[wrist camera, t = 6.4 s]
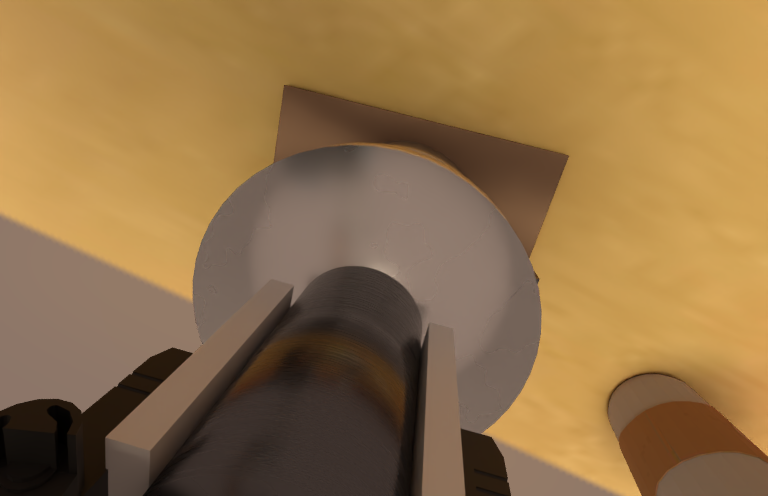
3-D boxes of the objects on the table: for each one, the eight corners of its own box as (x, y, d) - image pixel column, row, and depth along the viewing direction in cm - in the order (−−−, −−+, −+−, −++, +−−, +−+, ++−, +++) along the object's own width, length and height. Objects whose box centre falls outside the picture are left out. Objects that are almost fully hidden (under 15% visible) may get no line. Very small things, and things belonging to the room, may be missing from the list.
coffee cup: (721, 428, 31) (965, 696, 16) (612, 459, 33) (745, 718, 19) (688, 343, 29) (930, 561, 15) (575, 381, 31) (691, 603, 17)
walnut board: (288, 85, 27) (284, 84, 26) (565, 154, 26) (568, 155, 25) (261, 281, 32) (257, 285, 31) (491, 344, 31) (493, 350, 30)
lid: (232, 104, 13) (-208, 71, 4) (584, 193, 13) (947, 375, 4) (205, 387, 17) (-52, 683, 8) (472, 465, 17) (512, 876, 8)
